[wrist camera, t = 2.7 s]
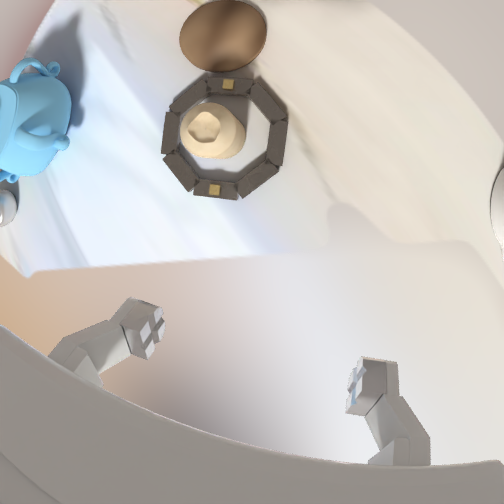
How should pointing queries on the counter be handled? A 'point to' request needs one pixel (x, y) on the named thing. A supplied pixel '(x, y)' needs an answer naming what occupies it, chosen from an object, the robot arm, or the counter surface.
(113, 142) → the counter surface
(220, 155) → the candle
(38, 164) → the decorative pot
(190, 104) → the collar
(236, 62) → the coaster
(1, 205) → the plastic bottle
